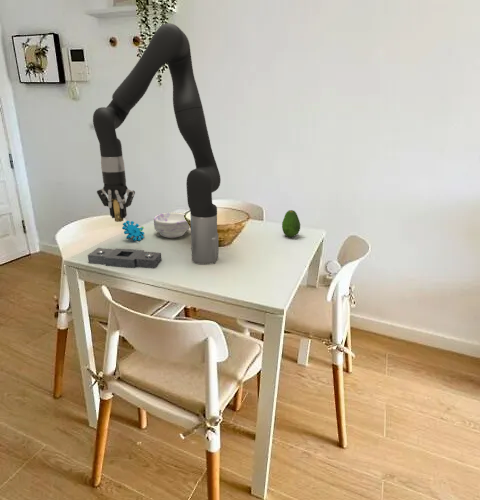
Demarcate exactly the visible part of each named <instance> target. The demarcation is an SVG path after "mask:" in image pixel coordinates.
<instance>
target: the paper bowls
mask: <svg viewBox="0 0 480 500" xmlns="http://www.w3.org/2000/svg"><path fill="white" fill-rule="evenodd" d="M184 215H185V213H180V212H163V213H160V214H157V215H155V216H154V217H153V226H154V227H153V228H154V230H155V231H156V232H158V233H159V234H160V236H162V237H164V238H168V239H169V238H171V239H175V238H180V237H182V236H184V235H185V233H186V232H187V231H188V230H190V229H191V226H190V227H189V225H188V223H187V221H186V220H185V218H184Z"/></svg>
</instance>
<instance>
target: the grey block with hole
mask: <svg viewBox="0 0 480 500" xmlns="http://www.w3.org/2000/svg"><path fill="white" fill-rule="evenodd" d="M87 259H88V261H87V262H88V263H89V264H97V265H105V266H106V267H116V268H117V267H118V268H131V269H135V268H144V269H156V268H157V267H158V265H159V264H160V263H161V262H162V252H156V251H155V252H154V251H145V250H143V249H130V248H102V247H101V248H100V247H97V248H96V249H94V250H92V251H91V252H90V253H88V254H87Z"/></svg>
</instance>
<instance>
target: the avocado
mask: <svg viewBox="0 0 480 500" xmlns="http://www.w3.org/2000/svg"><path fill="white" fill-rule="evenodd" d="M281 225H282V226H281V227H282V228H281V229H282V233H283V234H284V236H286V237H287V238H294V237H296V236H297V235H298V234H299V232H300V230H301V223H300V219H299V216H298V214H297V212H296V211H295V210H293V209H291V210H287V211H286V213H285V214H284V217H283V220H282V223H281Z"/></svg>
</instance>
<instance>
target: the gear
mask: <svg viewBox="0 0 480 500" xmlns="http://www.w3.org/2000/svg"><path fill="white" fill-rule="evenodd" d="M134 223H135V222H134V221H133V220H131V221H130V220H126V221H125V222H123V223H122V228H121V229H122V230H124V231H123V233H124V235H126V237H125V238H126V239H131V238H132V241H134V242H136V241H138V242H140V241H142V240H143V239H144V238H145V236H144V235H145V232H144V231H143V230H144V229H145V228H144V226H141V227H139V226H140V225H139V223H135V224H134Z"/></svg>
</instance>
